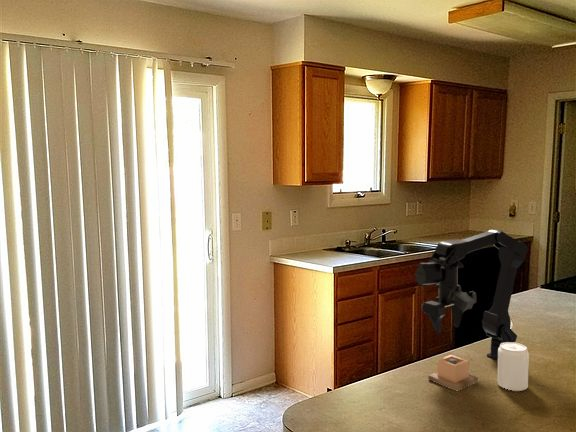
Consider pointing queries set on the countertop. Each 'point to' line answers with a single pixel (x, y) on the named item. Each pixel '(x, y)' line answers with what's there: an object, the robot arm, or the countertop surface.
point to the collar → (453, 368)
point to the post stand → (451, 384)
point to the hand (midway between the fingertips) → (447, 329)
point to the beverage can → (513, 366)
